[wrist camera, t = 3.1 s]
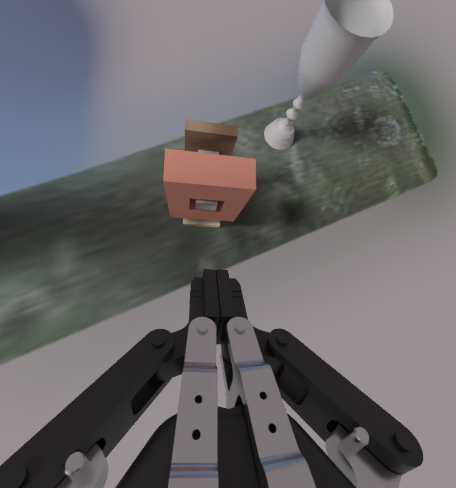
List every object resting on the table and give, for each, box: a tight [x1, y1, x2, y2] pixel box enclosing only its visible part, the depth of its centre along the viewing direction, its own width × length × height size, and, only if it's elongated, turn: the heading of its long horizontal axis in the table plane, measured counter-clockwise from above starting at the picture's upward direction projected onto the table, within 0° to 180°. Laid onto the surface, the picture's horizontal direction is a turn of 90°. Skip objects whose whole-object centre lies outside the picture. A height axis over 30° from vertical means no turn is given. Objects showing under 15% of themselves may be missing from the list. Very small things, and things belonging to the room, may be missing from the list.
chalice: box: [264, 0, 394, 150], centre depth 29 cm, size 7×7×18 cm
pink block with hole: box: [163, 148, 256, 222], centre depth 25 cm, size 8×3×10 cm, turn 89°
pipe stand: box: [183, 119, 238, 228], centre depth 27 cm, size 5×7×12 cm
